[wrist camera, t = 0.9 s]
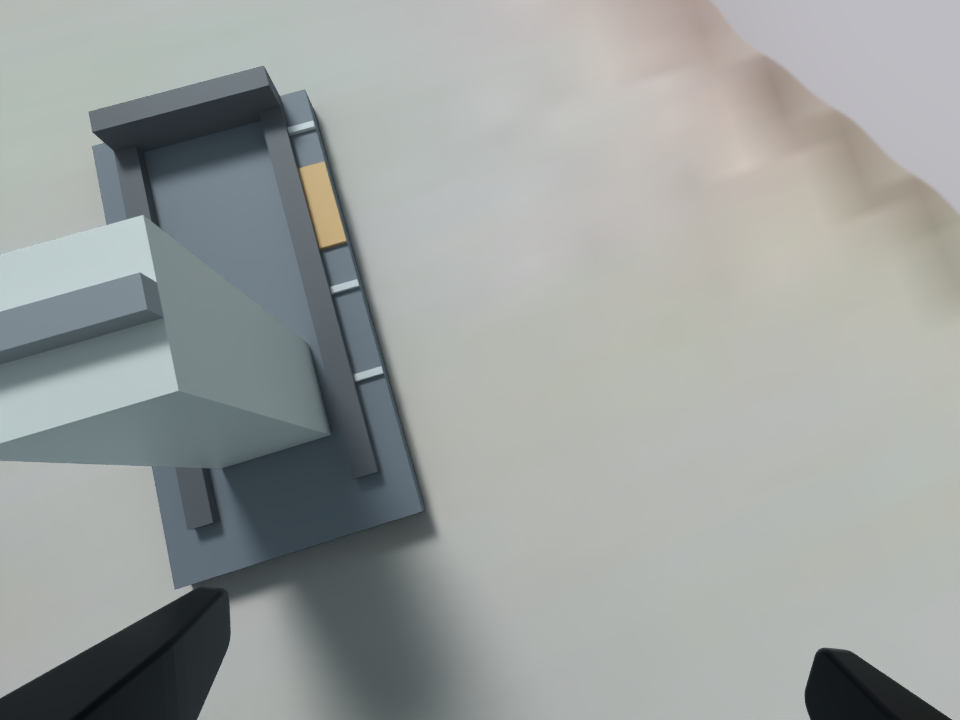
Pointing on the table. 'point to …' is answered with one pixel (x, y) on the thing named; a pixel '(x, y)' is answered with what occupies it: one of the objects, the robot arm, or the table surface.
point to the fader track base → (277, 289)
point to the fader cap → (144, 358)
